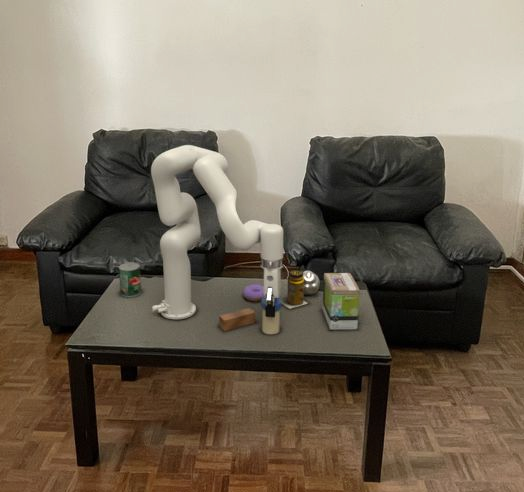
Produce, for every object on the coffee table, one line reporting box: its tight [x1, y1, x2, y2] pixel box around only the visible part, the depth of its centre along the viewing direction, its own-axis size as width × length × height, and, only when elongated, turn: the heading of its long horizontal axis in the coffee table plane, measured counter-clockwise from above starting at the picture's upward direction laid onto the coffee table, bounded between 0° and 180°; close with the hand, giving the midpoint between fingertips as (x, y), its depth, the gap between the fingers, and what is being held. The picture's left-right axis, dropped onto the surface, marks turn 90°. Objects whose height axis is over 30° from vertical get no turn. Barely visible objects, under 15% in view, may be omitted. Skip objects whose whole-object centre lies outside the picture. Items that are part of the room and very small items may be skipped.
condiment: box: [281, 269, 308, 310], centre depth 205 cm, size 7×8×12 cm
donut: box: [242, 284, 264, 302], centre depth 210 cm, size 10×9×5 cm
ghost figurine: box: [302, 270, 321, 296], centre depth 212 cm, size 9×10×10 cm
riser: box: [218, 307, 256, 332], centre depth 189 cm, size 12×4×4 cm, turn 121°
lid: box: [260, 296, 283, 311], centre depth 184 cm, size 7×7×2 cm
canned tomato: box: [118, 261, 142, 298], centre depth 213 cm, size 8×8×11 cm
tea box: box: [322, 272, 361, 331], centre depth 192 cm, size 15×10×15 cm, turn 4°
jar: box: [261, 308, 281, 335], centre depth 185 cm, size 6×6×10 cm
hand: (271, 311), depth 185 cm, fingers closed on lid, 6 cm apart
